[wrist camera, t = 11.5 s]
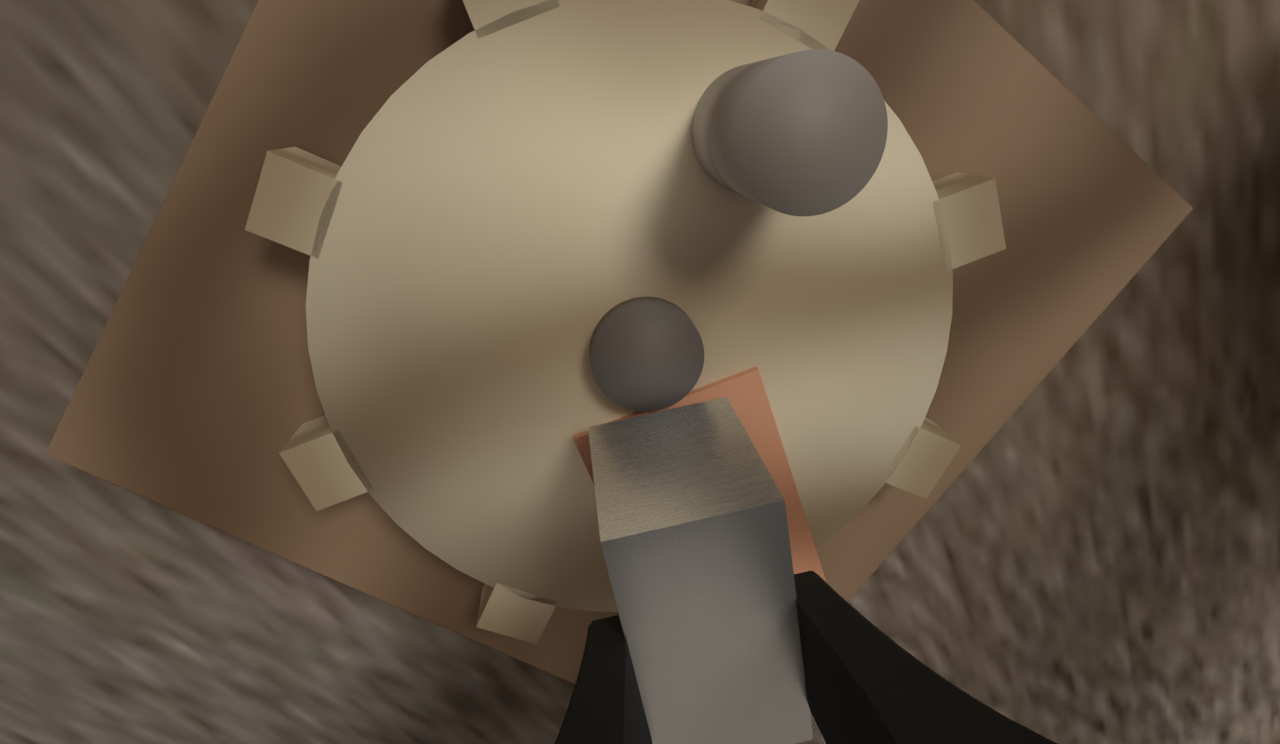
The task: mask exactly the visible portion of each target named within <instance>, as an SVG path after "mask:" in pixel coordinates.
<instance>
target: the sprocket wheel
mask: <svg viewBox="0 0 1280 744" xmlns="http://www.w3.org/2000/svg"><path fill="white" fill-rule="evenodd" d="M859 1H860V0H752V2H751V5H750V6H747V5H743V4H740V3H737V2H733V1H730V0H463V3H464V5H465V7H466V10H467V12H468V15H469V17H470V20H471V22H472V25H473V27H474V30H475V31H472V32H470V33H469V34H467V35H466V36H464V37H463V38H461V39H460V40H458V41H457V42H455V43H454V44H453V45H451V46H450V47H448V48H447V49H445V50H444V51H442V52H441V53H439V54H438V55H436V56H435V57H433V58H432V59H431V60H429V61H428V62H427V63H426V64H424V65H423V66H422V67H421V68H420V69H419V70H418V71H417V72H416V73H415V74H414V75H413V76H411V77H410V78H409V79H408V80H407V81H406V82H405V83H404V84H403V85H402V86H401V87H400V88H399V89H397V90H396V91H395V92H394V93H393V94H392V95H391V96H390V98H389V99H388V100H387V101H386V103H385V104H384V105H383V106H382V108H381V109H380V110H379V111H378V113H377V114H376V115H375V116H374V118H373V119H372V120H371V121H370V122H369V124H368V125H367V126H366V127H365V129H364V130H363V131H362V132H361V134H360V136H359V137H358V139H357V141H356V143H355V144H354V146H353V148H352V149H351V151H350V153H349V155H348V156H347V158H346V160H345V161H344V163H343V165H342V166H339V165H337V164H335V163H332V162H330V161H328V160H325V159H323V158H321V157H318V156H316V155H314V154H311V153H309V152H307V151H304V150H302V149H300V148H297V147H290V148H283V149H276V150H269V151H267V154H266V157H265V161H264V164H263V168H262V171H261V175H260V178H259V182H258V185H257V189H256V192H255V196H254V199H253V203H252V206H251V210H250V213H249V217H248V220H247V224H246V227H245V230H247V231H249V232H252V233H254V234H257V235H259V236H262V237H264V238H267V239H269V240H272V241H274V242H277V243H279V244H282V245H285V246H287V247H290V248H292V249H295V250H297V251H300V252H302V253H305V254H307V255H310V256H311V257H310V261H309V272H308V283H307V295H306V321H307V339H308V351H309V355H310V360H311V365H312V370H313V375H314V380H315V385H316V390H317V393H318V395H319V398H320V401H321V404H322V407H323V410H324V412H325V415H324V416H322V417H319V418H316V419H314V420H311V421H309V422H306V423H303V424H302V425H301V426H300V428H299V429H298V430H297V431H296V432H295V434H294V435H293V436H292V437H291V439H290V440H289V441H288V442H287V444H286V445H285V446H284V447H283V448H282V450H281V451H280V452H279V454H280V455H281V457H282V459H283V460H284V462H285V463H286V465H287V466H288V468H289V469H290V471H291V472H292V474H293V476H294V477H295V479H296V480H297V482H298V483H299V485H300V486H301V488H302V490H303V491H304V493H305V494H306V496H307V497H308V499H309V500H310V502H311V504H312V505H313V507H314V508H315V510H316V511H319V510H322V509H324V508H327V507H329V506H332V505H335V504H337V503H340V502H343V501H345V500H348V499H350V498H353V497H356V496H358V495H361V494H364V493H366V492H368V493H369V494H370V495H371V497H372V498H373V499H374V500H375V501H376V502H377V503H378V504H379V505H380V506H381V508H382V509H383V510H384V511H385V512H386V513H387V514H388V515H389V516H390V517H391V519H392V520H393V521H394V522H395V523H396V524H397V525H398V526H399V527H401V528H402V529H403V530H404V531H405V532H406V533H408V534H409V535H410V536H411V537H412V538H413V539H415V540H416V541H417V542H418V543H419V544H420V545H422V546H423V547H424V548H425V549H427V550H428V551H430V552H431V553H433V554H434V555H436V556H437V557H439V558H440V559H442V560H443V561H445V562H446V563H448V564H449V565H451V566H452V567H454V568H455V569H457V570H459V571H461V572H463V573H465V574H467V575H469V576H471V577H473V578H475V579H477V580H479V581H481V582H483V583H485V584H484V586H483V588H482V594H481V600H480V606H479V613H478V619H477V625H476V627H478V628H481V629H485V630H488V631H492V632H495V633H499V634H502V635H506V636H509V637H513V638H516V639H520V640H524V641H527V642H531V643H534V644H537V643H538V641H539V639H540V637H541V635H542V633H543V631H544V629H545V627H546V625H547V623H548V621H549V619H550V617H551V615H552V613H553V611H554V609H555V607H556V606H557V607H563V608H571V609H579V610H587V611H595V612H618V609H617V605H616V602H615V598H614V594H613V590H612V586H611V582H610V578H609V574H608V570H607V566H606V562H605V558H604V554H603V550H602V546H601V542H600V533H599V524H598V515H597V506H596V496H595V487H594V478H593V469H592V460H591V450H590V441H589V432H588V427H591V426H596V425H600V424H605V423H609V422H614V421H618V420H623V419H627V418H632V417H636V416H641V415H646V414H650V413H655V412H659V411H664V410H668V409H673V408H677V407H682V406H686V405H691V404H695V403H700V402H705V401H709V400H714V399H718V398H723V397H727V398H728V400H729V402H730V404H731V405H732V407H733V409H734V411H735V412H736V414H737V416H738V418H739V420H740V421H741V423H742V425H743V427H744V428H745V430H746V432H747V434H748V436H749V437H750V439H751V441H752V443H753V444H754V446H755V448H756V450H757V451H758V453H759V455H760V457H761V459H762V460H763V462H764V464H765V466H766V467H767V469H768V471H769V473H770V475H771V476H772V478H773V480H774V482H775V483H776V485H777V487H778V489H779V491H780V492H781V494H782V496H783V498H784V499H785V505H786V513H787V522H788V530H789V538H790V547H791V555H792V564H793V572H794V574H798V573H803V572H807V571H811V570H812V571H814V572H815V573H817V574H818V575H819V576H820V577H821V578H822V579H823V580H824V581H825V582H826V579H825V576H824V573H823V569H822V566H821V563H820V560H819V557H818V554H817V551H816V549H817V548H818V547H819V546H821V545H822V544H824V543H825V542H826V541H828V540H829V539H831V538H832V537H833V536H834V535H835V534H836V533H837V532H839V531H840V530H841V529H842V528H843V527H844V526H845V525H846V524H847V523H849V522H850V521H851V520H852V519H853V518H854V517H855V516H856V515H858V514H859V513H860V511H861V510H862V509H863V508H864V507H865V506H866V505H867V504H868V503H869V501H870V500H871V499H872V498H873V497H874V496H875V495H876V494H877V493H878V491H879V490H880V489H881V488H882V487H883V486H884V484H885V483H887V484H890V485H892V486H895V487H897V488H900V489H902V490H905V491H908V492H910V493H913V494H915V495H918V496H920V497H923V498H925V499H927V497H928V496H929V494H930V493H931V491H932V490H933V488H934V487H935V485H936V484H937V482H938V480H939V479H940V477H941V476H942V474H943V473H944V471H945V470H946V468H947V467H948V465H949V464H950V462H951V461H952V459H953V458H954V456H955V455H956V453H957V452H958V450H959V448H960V447H961V445H960V444H959V443H958V442H957V441H955V440H954V439H953V438H952V437H951V436H949V435H948V434H947V433H946V432H945V431H943V430H942V429H941V428H940V427H939V426H937V425H936V424H935V423H934V422H933V421H931V420H930V419H927V418H925V416H926V414H927V412H928V409H929V407H930V404H931V402H932V399H933V397H934V394H935V392H936V390H937V386H938V383H939V379H940V375H941V372H942V368H943V364H944V361H945V357H946V353H947V347H948V340H949V333H950V326H951V319H952V302H953V271H952V269H954V268H957V267H960V266H962V265H965V264H968V263H970V262H973V261H976V260H978V259H981V258H983V257H986V256H989V255H991V254H994V253H997V252H999V251H1002V250H1004V249H1006V244H1005V238H1004V232H1003V225H1002V219H1001V213H1000V206H999V200H998V193H997V187H996V181H995V178H990V177H984V176H978V175H971V174H965V173H959V172H957V173H954V174H951V175H949V176H946V177H944V178H941V179H938V180H936V181H933V182H932V180H931V177H930V175H929V173H928V170H927V168H926V165H925V163H924V161H923V158H922V156H921V154H920V152H919V151H918V149H917V147H916V146H915V144H914V142H913V141H912V139H911V137H910V136H909V134H908V132H907V131H906V129H905V127H904V126H903V124H902V122H901V121H900V119H899V118H898V117H897V115H896V114H895V113H894V112H893V110H892V109H891V108H890V107H889V106H888V104H887V103H886V102H885V101H884V98H883V95H882V93H881V91H880V88H879V86H878V85H877V83H876V81H875V80H874V78H873V77H872V76H871V74H870V73H869V72H868V71H867V70H866V69H865V68H864V67H863V66H862V65H861V64H860V63H858V62H857V61H855V60H854V59H852V58H851V57H849V56H847V55H844V54H842V53H839V52H836V51H834V50H835V48H836V46H837V44H838V42H839V40H840V38H841V36H842V34H843V32H844V30H845V28H846V26H847V24H848V22H849V20H850V18H851V16H852V14H853V12H854V10H855V9H856V7H857V5H858V3H859ZM826 583H827V582H826Z"/></svg>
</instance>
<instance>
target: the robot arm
mask: <svg viewBox="0 0 1280 744" xmlns="http://www.w3.org/2000/svg"><path fill="white" fill-rule="evenodd" d="M794 580H795V589H796V597H797V600H796V607H797V616H798V624H799V632H800V641H801V649H802V658H803V666H804V674H805V683H806V691H807V699H808V705H809V708H810V710H811V713H812V715H813V717H814V719H815V721H816V723H817V725H818V727H819V729H820V731H821V733H822V735H823V738H824V740H825V742H826V744H1057V743H1055V742H1053V741H1051V740H1049V739H1047V738H1045V737H1043V736H1041V735H1039V734H1037V733H1036V732H1034V731H1032V730H1030V729H1028V728H1026V727H1024V726H1022V725H1020V724H1018V723H1016V722H1014V721H1012V720H1010V719H1009V718H1007V717H1005V716H1003V715H1002V714H1000V713H998V712H997V711H995V710H993V709H991V708H990V707H988V706H986V705H985V704H983V703H981V702H980V701H978V700H977V699H975V698H973V697H972V696H970V695H969V694H967V693H965V692H964V691H962V690H961V689H959V688H958V687H956V686H955V685H953V684H952V683H950V682H949V681H947V680H946V679H944V678H943V677H941V676H940V675H938V674H937V673H935V672H934V671H933V670H931V669H930V668H929V667H927V666H926V665H924V664H923V663H922V662H920V661H919V660H918V659H916V658H915V657H913V656H912V655H911V654H909V653H908V652H907V651H906V650H904V649H903V648H902V647H900V646H899V645H898V644H896V643H895V642H894V641H893V640H892V639H890V638H889V637H888V636H887V635H885V634H884V633H883V632H882V631H880V630H879V629H878V628H877V627H876V626H874V625H873V624H872V623H871V622H870V621H868V620H867V619H866V618H865V617H864V616H862V615H861V614H860V613H859V612H858V611H857V610H856V609H855V608H853V607H852V606H851V605H850V604H849V603H848V602H847V601H846V600H845V599H843V598H842V597H841V596H840V595H839V594H838V593H837V592H836V591H835V590H834V589H833V588H832V587H831V586H830V585H829V584H827V583H826V582H825V581H824V580H823V579H822V578H821V577H820V576H819V575H818V574H817V573H815V572H814V571H812V570H811V571H807V572H803V573H798V574H794ZM555 744H652V739H651V735H650V731H649V727H648V723H647V719H646V715H645V711H644V707H643V703H642V699H641V695H640V691H639V687H638V683H637V679H636V675H635V671H634V667H633V663H632V659H631V655H630V651H629V647H628V643H627V639H625V637H624V633H623V629H622V625H621V621H620V617H619V615H616V616H611V617H607V618H603V619H598V620H594V621H592V623H591V624H590V625H589V627H588V632H587V639H586V644H585V649H584V653H583V658H582V662H581V666H580V669H579V673H578V677H577V681H576V684H575V687H574V690H573V693H572V696H571V700H570V703H569V706H568V709H567V712H566V715H565V718H564V721H563V724H562V726H561V729H560V731H559V734H558V737H557V739H556V742H555Z"/></svg>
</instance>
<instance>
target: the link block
mask: <svg viewBox="0 0 1280 744" xmlns="http://www.w3.org/2000/svg"><path fill="white" fill-rule="evenodd" d="M588 432H589V441H590V450H591V460H592V469H593V478H594V487H595V496H596V506H597V515H598V524H599V533H600V542H601V546H602V550H603V554H604V558H605V562H606V566H607V570H608V574H609V578H610V582H611V586H612V590H613V594H614V598H615V602H616V605H617V609H618V613H619V617H620V621H621V625H622V629H623V633H624V637H625V639H627V643H628V647H629V651H630V655H631V659H632V663H633V667H634V671H635V675H636V679H637V683H638V687H639V691H640V695H641V699H642V703H643V707H644V711H645V715H646V719H647V723H648V727H649V731H650V735H651V739H652V744H796V743H800V742H804V741H808V740H812V739H813V732H812V724H811V715H810V708H809V705H808V699H807V691H806V683H805V674H804V666H803V658H802V649H801V641H800V632H799V624H798V616H797V607H796V600H797V597H796V589H795V580H794V572H793V564H792V555H791V547H790V538H789V530H788V522H787V513H786V505H785V499H784V498H783V496H782V494H781V492H780V491H779V489H778V487H777V485H776V483H775V482H774V480H773V478H772V476H771V475H770V473H769V471H768V469H767V467H766V466H765V464H764V462H763V460H762V459H761V457H760V455H759V453H758V451H757V450H756V448H755V446H754V444H753V443H752V441H751V439H750V437H749V436H748V434H747V432H746V430H745V428H744V427H743V425H742V423H741V421H740V420H739V418H738V416H737V414H736V412H735V411H734V409H733V407H732V405H731V404H730V402H729V400H728V398H727V397H723V398H718V399H714V400H709V401H705V402H700V403H695V404H691V405H686V406H682V407H677V408H673V409H668V410H664V411H659V412H655V413H650V414H646V415H641V416H636V417H632V418H627V419H623V420H618V421H614V422H609V423H605V424H600V425H596V426H591V427H588Z"/></svg>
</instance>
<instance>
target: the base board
mask: <svg viewBox="0 0 1280 744" xmlns="http://www.w3.org/2000/svg"><path fill="white" fill-rule="evenodd" d="M730 1H733V2H737V3H740V4H743V5H747V6H750V5H751V2H752V0H730ZM472 31H475V30H474V27H473V25H472V22H471V20H470V17H469V15H468V12H467V10H466V7H465V5H464V3H463V0H258V3H257V5H256V7H255V9H254V11H253V13H252V15H251V17H250V20H249V22H248V24H247V26H246V28H245V30H244V32H243V34H242V37H241V39H240V41H239V43H238V45H237V47H236V49H235V51H234V54H233V56H232V58H231V60H230V62H229V64H228V66H227V68H226V71H225V73H224V75H223V77H222V79H221V81H220V83H219V86H218V88H217V90H216V92H215V94H214V96H213V98H212V100H211V103H210V105H209V107H208V109H207V111H206V113H205V115H204V117H203V120H202V122H201V124H200V126H199V128H198V130H197V132H196V134H195V137H194V139H193V141H192V143H191V145H190V147H189V149H188V151H187V154H186V156H185V158H184V160H183V162H182V164H181V166H180V168H179V171H178V173H177V175H176V177H175V179H174V181H173V183H172V185H171V188H170V190H169V192H168V194H167V196H166V198H165V200H164V203H163V205H162V207H161V209H160V211H159V213H158V215H157V217H156V220H155V222H154V224H153V226H152V228H151V230H150V232H149V234H148V237H147V239H146V241H145V243H144V245H143V247H142V249H141V251H140V254H139V256H138V258H137V260H136V262H135V264H134V266H133V268H132V271H131V273H130V275H129V277H128V279H127V281H126V283H125V285H124V288H123V290H122V292H121V294H120V296H119V298H118V300H117V303H116V305H115V307H114V309H113V311H112V313H111V315H110V317H109V320H108V322H107V324H106V326H105V328H104V330H103V332H102V334H101V337H100V339H99V341H98V343H97V345H96V347H95V349H94V351H93V354H92V356H91V358H90V360H89V362H88V364H87V366H86V368H85V371H84V373H83V375H82V377H81V379H80V381H79V383H78V385H77V388H76V390H75V392H74V394H73V396H72V398H71V400H70V402H69V405H68V407H67V409H66V411H65V413H64V415H63V417H62V420H61V422H60V424H59V426H58V428H57V430H56V432H55V434H54V437H53V439H52V441H51V443H50V445H49V447H48V449H47V451H46V455H48V456H50V457H53V458H55V459H57V460H60V461H62V462H64V463H67V464H69V465H71V466H73V467H76V468H78V469H80V470H83V471H85V472H87V473H90V474H92V475H94V476H96V477H99V478H101V479H103V480H106V481H108V482H110V483H113V484H115V485H117V486H120V487H122V488H124V489H126V490H129V491H131V492H133V493H136V494H138V495H140V496H143V497H145V498H147V499H149V500H152V501H154V502H156V503H159V504H161V505H163V506H166V507H168V508H170V509H173V510H175V511H177V512H179V513H182V514H184V515H186V516H189V517H191V518H193V519H196V520H198V521H200V522H202V523H205V524H207V525H209V526H212V527H214V528H216V529H219V530H221V531H223V532H225V533H228V534H230V535H232V536H235V537H237V538H239V539H242V540H244V541H246V542H249V543H251V544H253V545H255V546H258V547H260V548H262V549H265V550H267V551H269V552H272V553H274V554H276V555H278V556H281V557H283V558H285V559H288V560H290V561H292V562H295V563H297V564H299V565H302V566H304V567H306V568H308V569H311V570H313V571H315V572H318V573H320V574H322V575H325V576H327V577H329V578H331V579H334V580H336V581H338V582H341V583H343V584H345V585H348V586H350V587H352V588H354V589H357V590H359V591H361V592H364V593H366V594H368V595H371V596H373V597H375V598H378V599H380V600H382V601H384V602H387V603H389V604H391V605H394V606H396V607H398V608H401V609H403V610H405V611H407V612H410V613H412V614H414V615H417V616H419V617H421V618H424V619H426V620H428V621H431V622H433V623H435V624H437V625H440V626H442V627H444V628H447V629H449V630H451V631H454V632H456V633H458V634H460V635H463V636H465V637H467V638H470V639H472V640H474V641H477V642H479V643H481V644H483V645H486V646H488V647H490V648H493V649H495V650H497V651H500V652H502V653H504V654H507V655H509V656H511V657H513V658H516V659H518V660H520V661H523V662H525V663H527V664H530V665H532V666H534V667H536V668H539V669H541V670H543V671H546V672H548V673H550V674H553V675H555V676H557V677H560V678H562V679H564V680H566V681H569V682H571V683H573V684H576V681H577V677H578V673H579V669H580V666H581V662H582V658H583V653H584V649H585V644H586V639H587V632H588V627H589V625H590V624H591V623H592V621H594V620H598V619H603V618H607V617H611V616H616V615H619V613H618V612H595V611H587V610H579V609H571V608H563V607H557V606H556V607H555V609H554V611H553V613H552V615H551V617H550V619H549V621H548V623H547V625H546V627H545V629H544V631H543V633H542V635H541V637H540V639H539V641H538V643H537V644H534V643H531V642H527V641H524V640H520V639H516V638H513V637H509V636H506V635H502V634H499V633H495V632H492V631H488V630H485V629H481V628H478V627H476V625H477V619H478V613H479V606H480V600H481V594H482V588H483V586H484V584H485V583H483V582H481V581H479V580H477V579H475V578H473V577H471V576H469V575H467V574H465V573H463V572H461V571H459V570H457V569H455V568H454V567H452V566H451V565H449V564H448V563H446V562H445V561H443V560H442V559H440V558H439V557H437V556H436V555H434V554H433V553H431V552H430V551H428V550H427V549H425V548H424V547H423V546H422V545H420V544H419V543H418V542H417V541H416V540H415V539H413V538H412V537H411V536H410V535H409V534H408V533H406V532H405V531H404V530H403V529H402V528H401V527H399V526H398V525H397V524H396V523H395V522H394V521H393V520H392V519H391V517H390V516H389V515H388V514H387V513H386V512H385V511H384V510H383V509H382V508H381V506H380V505H379V504H378V503H377V502H376V501H375V500H374V499H373V498H372V497H371V495H370V494H369V493H368V492H366V493H364V494H361V495H358V496H356V497H353V498H350V499H348V500H345V501H343V502H340V503H337V504H335V505H332V506H329V507H327V508H324V509H322V510H319V511H316V510H315V508H314V507H313V505H312V504H311V502H310V500H309V499H308V497H307V496H306V494H305V493H304V491H303V490H302V488H301V486H300V485H299V483H298V482H297V480H296V479H295V477H294V476H293V474H292V472H291V471H290V469H289V468H288V466H287V465H286V463H285V462H284V460H283V459H282V457H281V455H280V454H279V452H280V451H281V450H282V448H283V447H284V446H285V445H286V444H287V442H288V441H289V440H290V439H291V437H292V436H293V435H294V434H295V432H296V431H297V430H298V429H299V428H300V426H301V425H302V424H303V423H306V422H309V421H311V420H314V419H316V418H319V417H322V416H324V415H325V412H324V410H323V407H322V404H321V401H320V398H319V395H318V393H317V390H316V385H315V380H314V375H313V370H312V365H311V360H310V355H309V351H308V339H307V321H306V295H307V283H308V272H309V261H310V257H311V256H310V255H307V254H305V253H302V252H300V251H297V250H295V249H292V248H290V247H287V246H285V245H282V244H279V243H277V242H274V241H272V240H269V239H267V238H264V237H262V236H259V235H257V234H254V233H252V232H249V231H247V230H245V227H246V224H247V220H248V217H249V213H250V210H251V206H252V203H253V199H254V196H255V192H256V189H257V185H258V182H259V178H260V175H261V171H262V168H263V164H264V161H265V157H266V154H267V151H269V150H276V149H283V148H290V147H297V148H300V149H302V150H304V151H307V152H309V153H311V154H314V155H316V156H318V157H321V158H323V159H325V160H328V161H330V162H332V163H335V164H337V165H339V166H342V165H343V163H344V161H345V160H346V158H347V156H348V155H349V153H350V151H351V149H352V148H353V146H354V144H355V143H356V141H357V139H358V137H359V136H360V134H361V132H362V131H363V130H364V129H365V127H366V126H367V125H368V124H369V122H370V121H371V120H372V119H373V118H374V116H375V115H376V114H377V113H378V111H379V110H380V109H381V108H382V106H383V105H384V104H385V103H386V101H387V100H388V99H389V98H390V96H391V95H392V94H393V93H394V92H395V91H396V90H397V89H399V88H400V87H401V86H402V85H403V84H404V83H405V82H406V81H407V80H408V79H409V78H410V77H411V76H413V75H414V74H415V73H416V72H417V71H418V70H419V69H420V68H421V67H422V66H423V65H424V64H426V63H427V62H428V61H429V60H431V59H432V58H433V57H435V56H436V55H438V54H439V53H441V52H442V51H444V50H445V49H447V48H448V47H450V46H451V45H453V44H454V43H455V42H457V41H458V40H460V39H461V38H463V37H464V36H466V35H467V34H469V33H470V32H472ZM834 51H836V52H839V53H842V54H844V55H847V56H849V57H851V58H852V59H854V60H855V61H857V62H858V63H860V64H861V65H862V66H863V67H864V68H865V69H866V70H867V71H868V72H869V73H870V74H871V76H872V77H873V78H874V80H875V81H876V83H877V85H878V86H879V88H880V91H881V93H882V95H883V98H884V101H885V102H886V103H887V104H888V106H889V107H890V108H891V109H892V110H893V112H894V113H895V114H896V115H897V117H898V118H899V119H900V121H901V122H902V124H903V126H904V127H905V129H906V131H907V132H908V134H909V136H910V137H911V139H912V141H913V142H914V144H915V146H916V147H917V149H918V151H919V152H920V154H921V156H922V158H923V161H924V163H925V165H926V168H927V170H928V173H929V175H930V177H931V180H932V182H933V181H936V180H938V179H941V178H944V177H946V176H949V175H951V174H954V173H957V172H959V173H965V174H971V175H978V176H984V177H990V178H995V181H996V187H997V193H998V200H999V206H1000V213H1001V219H1002V225H1003V232H1004V238H1005V244H1006V249H1004V250H1002V251H999V252H997V253H994V254H991V255H989V256H986V257H983V258H981V259H978V260H976V261H973V262H970V263H968V264H965V265H962V266H960V267H957V268H954V269H952V271H953V302H952V319H951V326H950V333H949V340H948V347H947V353H946V357H945V361H944V364H943V368H942V372H941V375H940V379H939V383H938V386H937V390H936V392H935V394H934V397H933V399H932V402H931V404H930V407H929V409H928V412H927V414H926V416H925V418H927V419H930V420H931V421H933V422H934V423H935V424H936V425H937V426H939V427H940V428H941V429H942V430H943V431H945V432H946V433H947V434H948V435H949V436H951V437H952V438H953V439H954V440H955V441H957V442H958V443H959V444H960V445H961V447H960V448H959V450H958V452H957V453H956V455H955V456H954V458H953V459H952V461H951V462H950V464H949V465H948V467H947V468H946V470H945V471H944V473H943V474H942V476H941V477H940V479H939V480H938V482H937V484H936V485H935V487H934V488H933V490H932V491H931V493H930V494H929V496H928V497H927V499H925V498H923V497H920V496H918V495H915V494H913V493H910V492H908V491H905V490H902V489H900V488H897V487H895V486H892V485H890V484H887V483H885V484H884V486H883V487H882V488H881V489H880V490H879V491H878V493H877V494H876V495H875V496H874V497H873V498H872V499H871V500H870V501H869V503H868V504H867V505H866V506H865V507H864V508H863V509H862V510H861V511H860V513H859V514H858V515H856V516H855V517H854V518H853V519H852V520H851V521H850V522H849V523H847V524H846V525H845V526H844V527H843V528H842V529H841V530H840V531H839V532H837V533H836V534H835V535H834V536H833V537H832V538H831V539H829V540H828V541H826V542H825V543H824V544H822V545H821V546H819V547H818V548H817V549H816V551H817V554H818V557H819V560H820V563H821V566H822V569H823V573H824V576H825V579H826V582H827V584H829V585H830V586H831V587H832V588H833V589H834V590H835V591H836V592H837V593H838V594H839V595H840V596H841V597H842V598H843V599H845V600H846V601H847V602H848V601H849V600H850V599H851V598H852V596H853V595H854V594H855V593H856V592H857V591H858V590H859V588H860V587H861V586H862V585H863V584H864V583H865V582H866V581H867V579H868V578H869V577H870V576H871V575H872V574H873V573H874V571H875V570H876V569H877V568H878V567H879V566H880V565H881V563H882V562H883V561H884V560H885V559H886V558H887V557H888V555H889V554H890V553H891V552H892V551H893V550H894V549H895V548H896V546H897V545H898V544H899V543H900V542H901V541H902V540H903V538H904V537H905V536H906V535H907V534H908V533H909V532H910V530H911V529H912V528H913V527H914V526H915V525H916V524H917V522H918V521H919V520H920V519H921V518H922V517H923V516H924V514H925V513H926V512H927V511H928V510H929V509H930V508H931V507H932V505H933V504H934V503H935V502H936V501H937V500H938V499H939V497H940V496H941V495H942V494H943V493H944V492H945V491H946V489H947V488H948V487H949V486H950V485H951V484H952V483H953V481H954V480H955V479H956V478H957V477H958V476H959V475H960V473H961V472H962V471H963V470H964V469H965V468H966V467H967V466H968V464H969V463H970V462H971V461H972V460H973V459H974V458H975V456H976V455H977V454H978V453H979V452H980V451H981V450H982V448H983V447H984V446H985V445H986V444H987V443H988V442H989V440H990V439H991V438H992V437H993V436H994V435H995V434H996V433H997V431H998V430H999V429H1000V428H1001V427H1002V426H1003V425H1004V423H1005V422H1006V421H1007V420H1008V419H1009V418H1010V417H1011V415H1012V414H1013V413H1014V412H1015V411H1016V410H1017V409H1018V407H1019V406H1020V405H1021V404H1022V403H1023V402H1024V401H1025V399H1026V398H1027V397H1028V396H1029V395H1030V394H1031V393H1032V392H1033V390H1034V389H1035V388H1036V387H1037V386H1038V385H1039V384H1040V382H1041V381H1042V380H1043V379H1044V378H1045V377H1046V376H1047V374H1048V373H1049V372H1050V371H1051V370H1052V369H1053V368H1054V366H1055V365H1056V364H1057V363H1058V362H1059V361H1060V360H1061V359H1062V357H1063V356H1064V355H1065V354H1066V353H1067V352H1068V351H1069V349H1070V348H1071V347H1072V346H1073V345H1074V344H1075V343H1076V341H1077V340H1078V339H1079V338H1080V337H1081V336H1082V335H1083V333H1084V332H1085V331H1086V330H1087V329H1088V328H1089V327H1090V325H1091V324H1092V323H1093V322H1094V321H1095V320H1096V319H1097V318H1098V316H1099V315H1100V314H1101V313H1102V312H1103V311H1104V310H1105V308H1106V307H1107V306H1108V305H1109V304H1110V303H1111V302H1112V300H1113V299H1114V298H1115V297H1116V296H1117V295H1118V294H1119V292H1120V291H1121V290H1122V289H1123V288H1124V287H1125V286H1126V284H1127V283H1128V282H1129V281H1130V280H1131V279H1132V278H1133V277H1134V275H1135V274H1136V273H1137V272H1138V271H1139V270H1140V269H1141V267H1142V266H1143V265H1144V264H1145V263H1146V262H1147V261H1148V259H1149V258H1150V257H1151V256H1152V255H1153V254H1154V253H1155V251H1156V250H1157V249H1158V248H1159V247H1160V246H1161V245H1162V244H1163V242H1164V241H1165V240H1166V239H1167V238H1168V237H1169V236H1170V234H1171V233H1172V232H1173V231H1174V230H1175V229H1176V228H1177V226H1178V225H1179V224H1180V223H1181V222H1182V221H1183V220H1184V218H1185V217H1186V216H1187V215H1188V214H1189V213H1190V212H1191V210H1192V209H1193V207H1192V206H1191V205H1190V204H1189V203H1187V202H1186V201H1185V200H1184V199H1183V198H1182V197H1181V196H1180V195H1179V194H1178V193H1177V192H1176V191H1175V190H1174V189H1173V188H1172V187H1171V186H1170V185H1168V184H1167V183H1166V182H1165V181H1164V180H1163V179H1162V178H1161V177H1160V176H1159V175H1158V174H1157V173H1156V172H1155V171H1154V170H1153V169H1152V168H1150V167H1149V166H1148V165H1147V164H1146V163H1145V162H1144V161H1143V160H1142V159H1141V158H1140V157H1139V156H1138V155H1137V154H1136V153H1135V152H1134V151H1132V150H1131V149H1130V148H1129V147H1128V146H1127V145H1126V144H1125V143H1124V142H1123V141H1122V140H1121V139H1120V138H1119V137H1118V136H1117V135H1116V134H1115V133H1113V132H1112V131H1111V130H1110V129H1109V128H1108V127H1107V126H1106V125H1105V124H1104V123H1103V122H1102V121H1101V120H1100V119H1099V118H1098V117H1097V116H1095V115H1094V114H1093V113H1092V112H1091V111H1090V110H1089V109H1088V108H1087V107H1086V106H1085V105H1084V104H1083V103H1082V102H1081V101H1080V100H1079V99H1077V98H1076V97H1075V96H1074V95H1073V94H1072V93H1071V92H1070V91H1069V90H1068V89H1067V88H1066V87H1065V86H1064V85H1063V84H1062V83H1061V82H1060V81H1058V80H1057V79H1056V78H1055V77H1054V76H1053V75H1052V74H1051V73H1050V72H1049V71H1048V70H1047V69H1046V68H1045V67H1044V66H1043V65H1042V64H1040V63H1039V62H1038V61H1037V60H1036V59H1035V58H1034V57H1033V56H1032V55H1031V54H1030V53H1029V52H1028V51H1027V50H1026V49H1025V48H1024V47H1022V46H1021V45H1020V44H1019V43H1018V42H1017V41H1016V40H1015V39H1014V38H1013V37H1012V36H1011V35H1010V34H1009V33H1008V32H1007V31H1006V30H1005V29H1003V28H1002V27H1001V26H1000V25H999V24H998V23H997V22H996V21H995V20H994V19H993V18H992V17H991V16H990V15H989V14H988V13H987V12H985V11H984V10H983V9H982V8H981V7H980V6H979V5H978V4H977V3H976V2H975V1H974V0H860V1H859V3H858V5H857V7H856V9H855V10H854V12H853V14H852V16H851V18H850V20H849V22H848V24H847V26H846V28H845V30H844V32H843V34H842V36H841V38H840V40H839V42H838V44H837V46H836V48H835V50H834Z"/></svg>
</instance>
